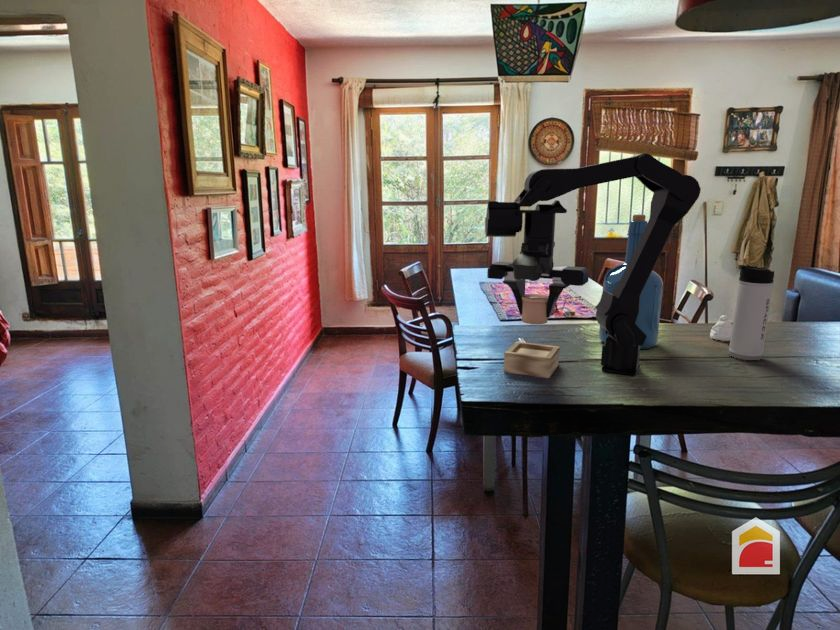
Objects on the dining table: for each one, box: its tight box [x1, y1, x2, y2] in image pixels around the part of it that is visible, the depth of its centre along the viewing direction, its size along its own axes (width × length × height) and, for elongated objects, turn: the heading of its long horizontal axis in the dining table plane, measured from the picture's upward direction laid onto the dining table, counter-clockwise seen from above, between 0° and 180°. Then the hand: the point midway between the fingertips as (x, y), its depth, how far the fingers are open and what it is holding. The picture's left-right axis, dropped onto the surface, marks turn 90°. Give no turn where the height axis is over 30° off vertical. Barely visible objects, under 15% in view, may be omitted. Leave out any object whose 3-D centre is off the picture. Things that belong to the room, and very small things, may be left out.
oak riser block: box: [503, 341, 561, 379], centre depth 109 cm, size 9×9×4 cm
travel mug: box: [728, 264, 775, 361], centre depth 114 cm, size 6×7×20 cm
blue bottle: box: [598, 214, 664, 350], centre depth 124 cm, size 14×13×30 cm
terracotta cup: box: [521, 293, 549, 325], centre depth 106 cm, size 5×5×5 cm
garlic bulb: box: [709, 315, 733, 341], centre depth 130 cm, size 6×6×5 cm
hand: (534, 316), depth 106 cm, fingers closed on terracotta cup, 5 cm apart
